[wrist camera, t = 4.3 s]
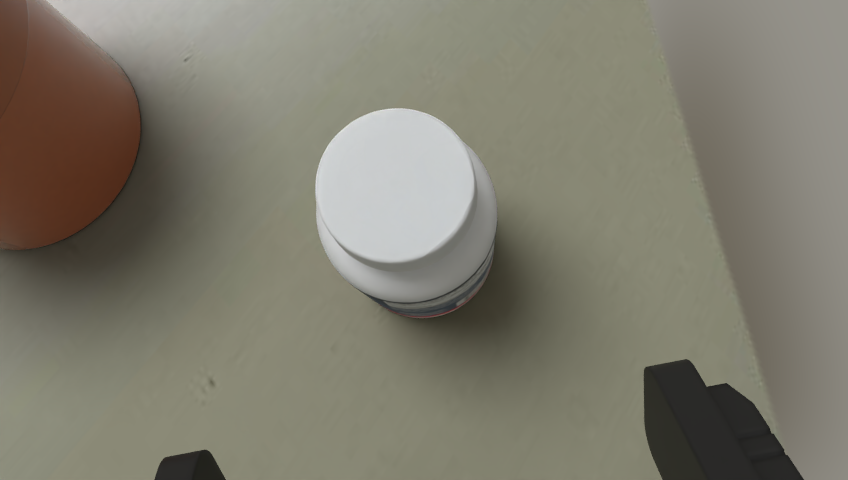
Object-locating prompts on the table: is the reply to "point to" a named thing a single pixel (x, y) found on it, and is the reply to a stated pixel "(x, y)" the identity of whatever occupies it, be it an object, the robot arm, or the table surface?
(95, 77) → the terracotta pot
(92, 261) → the table surface
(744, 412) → the robot arm
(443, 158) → the pill bottle
